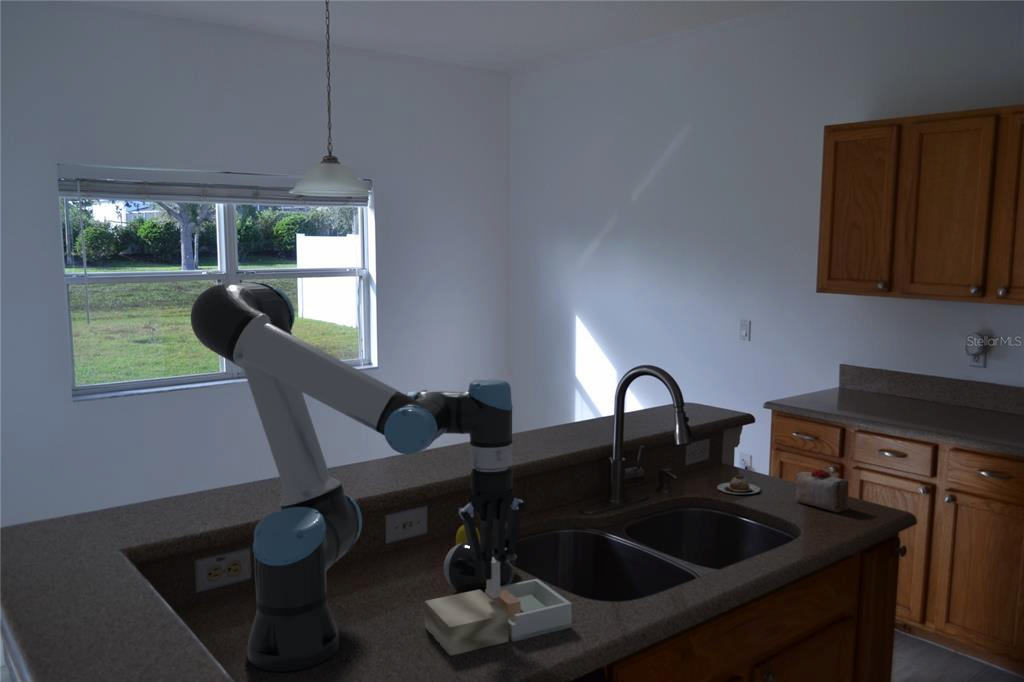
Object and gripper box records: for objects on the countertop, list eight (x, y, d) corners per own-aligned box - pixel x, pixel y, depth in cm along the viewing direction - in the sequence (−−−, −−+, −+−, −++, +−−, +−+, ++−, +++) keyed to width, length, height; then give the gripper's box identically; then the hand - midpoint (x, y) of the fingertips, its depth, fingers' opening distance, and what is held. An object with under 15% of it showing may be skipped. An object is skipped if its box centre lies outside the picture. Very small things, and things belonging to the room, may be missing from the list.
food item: (790, 502, 218) (790, 467, 217) (807, 497, 222) (808, 462, 221) (835, 514, 206) (836, 477, 205) (852, 509, 211) (853, 472, 210)
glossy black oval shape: (445, 531, 160) (501, 540, 151) (476, 547, 167) (532, 557, 157) (428, 581, 156) (485, 594, 147) (461, 596, 163) (518, 609, 153)
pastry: (761, 498, 223) (762, 482, 222) (717, 496, 225) (718, 480, 225) (758, 487, 234) (758, 471, 234) (716, 485, 237) (716, 470, 237)
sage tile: (545, 606, 145) (546, 620, 145) (531, 594, 150) (531, 607, 150) (523, 611, 143) (524, 625, 143) (509, 599, 148) (509, 612, 148)
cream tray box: (450, 655, 133) (449, 627, 133) (425, 627, 144) (424, 601, 144) (508, 641, 138) (508, 613, 138) (480, 615, 149) (479, 589, 149)
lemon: (452, 560, 177) (452, 526, 176) (460, 552, 182) (459, 518, 181) (476, 562, 176) (476, 527, 175) (483, 553, 181) (482, 519, 180)
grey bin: (512, 641, 138) (512, 617, 138) (481, 613, 150) (481, 590, 149) (571, 627, 143) (571, 603, 143) (537, 600, 155) (537, 578, 155)
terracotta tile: (508, 604, 141) (520, 601, 142) (493, 591, 147) (505, 589, 148) (508, 628, 142) (520, 625, 143) (493, 615, 147) (506, 612, 148)
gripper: (466, 476, 135) (468, 610, 137) (533, 467, 140) (535, 595, 143) (449, 466, 141) (452, 594, 144) (514, 458, 147) (516, 580, 149)
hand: (493, 594), depth 143 cm, fingers closed
